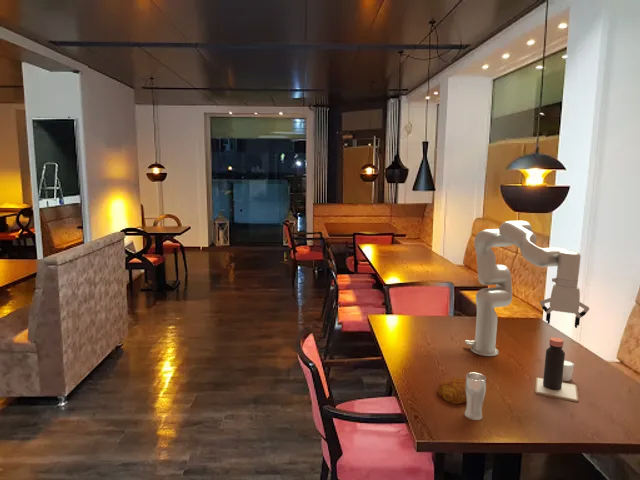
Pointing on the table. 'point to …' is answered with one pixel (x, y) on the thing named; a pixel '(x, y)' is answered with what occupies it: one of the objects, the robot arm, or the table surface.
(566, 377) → the short white cylinder
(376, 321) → the table surface
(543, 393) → the plate
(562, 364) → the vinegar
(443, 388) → the croissant
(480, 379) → the beer glass
